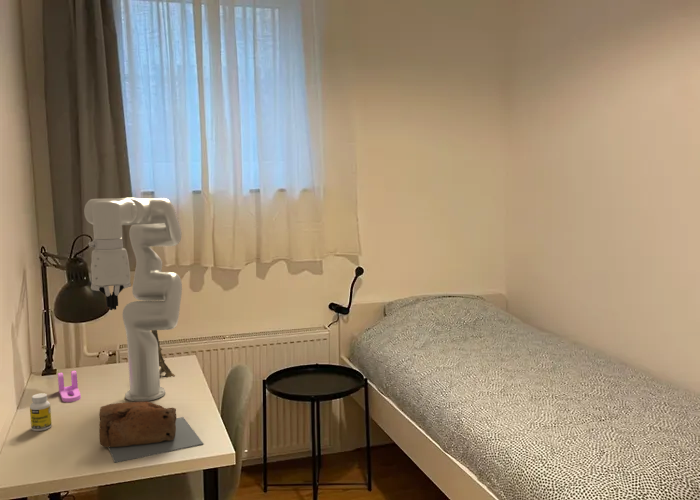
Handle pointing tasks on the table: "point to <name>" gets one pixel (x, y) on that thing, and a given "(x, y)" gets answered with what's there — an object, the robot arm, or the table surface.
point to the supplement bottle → (40, 412)
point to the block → (135, 424)
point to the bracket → (69, 388)
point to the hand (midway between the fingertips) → (112, 308)
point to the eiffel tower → (161, 360)
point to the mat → (159, 444)
